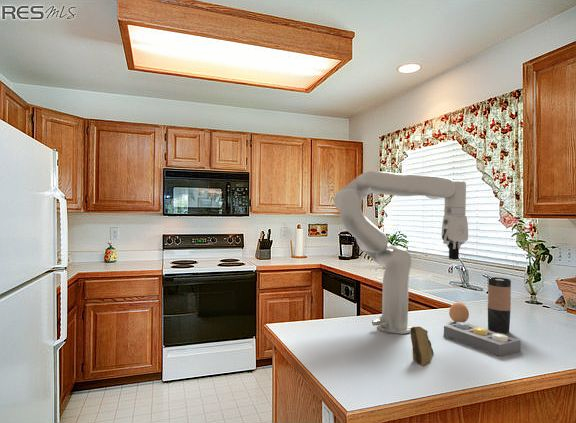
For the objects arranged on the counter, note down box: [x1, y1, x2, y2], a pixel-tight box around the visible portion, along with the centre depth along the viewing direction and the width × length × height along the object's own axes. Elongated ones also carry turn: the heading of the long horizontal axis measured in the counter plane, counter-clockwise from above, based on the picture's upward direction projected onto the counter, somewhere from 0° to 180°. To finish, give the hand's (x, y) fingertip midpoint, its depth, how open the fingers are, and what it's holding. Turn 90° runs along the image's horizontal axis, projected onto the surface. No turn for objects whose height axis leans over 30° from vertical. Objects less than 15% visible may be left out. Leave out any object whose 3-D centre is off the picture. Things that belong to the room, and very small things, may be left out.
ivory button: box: [492, 333, 508, 343], centre depth 120 cm, size 4×4×3 cm
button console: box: [443, 323, 522, 357], centre depth 127 cm, size 11×21×4 cm, turn 27°
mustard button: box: [473, 327, 488, 336], centre depth 127 cm, size 4×4×3 cm
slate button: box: [455, 322, 470, 330], centre depth 133 cm, size 4×4×3 cm
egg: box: [448, 301, 470, 323], centre depth 150 cm, size 7×7×8 cm
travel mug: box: [487, 276, 512, 335], centre depth 142 cm, size 8×8×20 cm
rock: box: [410, 326, 435, 367], centre depth 111 cm, size 11×9×10 cm
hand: (453, 259), depth 143 cm, fingers closed
